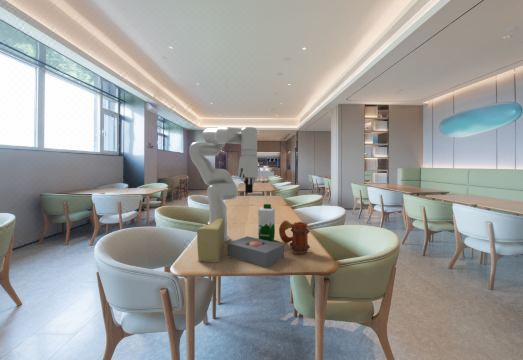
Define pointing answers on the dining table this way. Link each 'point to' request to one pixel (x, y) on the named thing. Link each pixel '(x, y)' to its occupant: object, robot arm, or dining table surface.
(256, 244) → the call button
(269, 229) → the milk carton
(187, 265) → the dining table surface
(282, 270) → the dining table surface
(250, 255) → the box
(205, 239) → the cheese
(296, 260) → the dining table surface
